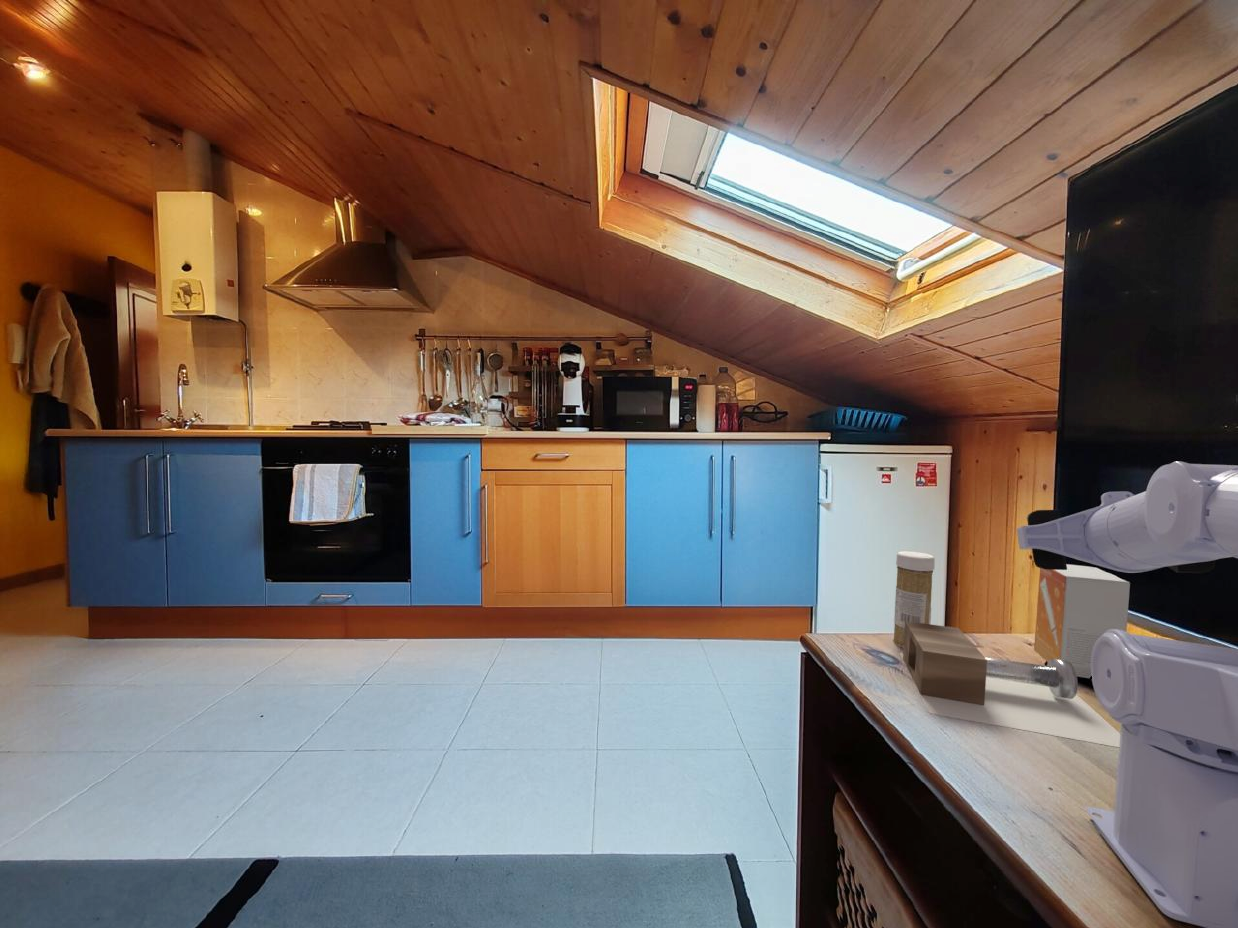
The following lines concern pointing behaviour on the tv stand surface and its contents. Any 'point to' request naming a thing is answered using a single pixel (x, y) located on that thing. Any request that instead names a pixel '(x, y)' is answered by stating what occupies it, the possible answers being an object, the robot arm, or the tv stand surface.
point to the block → (944, 663)
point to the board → (1030, 712)
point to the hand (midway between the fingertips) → (1083, 547)
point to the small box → (1078, 613)
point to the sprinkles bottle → (912, 591)
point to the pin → (1037, 674)
